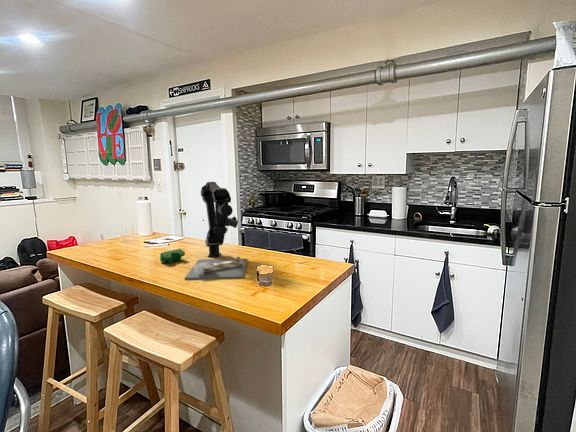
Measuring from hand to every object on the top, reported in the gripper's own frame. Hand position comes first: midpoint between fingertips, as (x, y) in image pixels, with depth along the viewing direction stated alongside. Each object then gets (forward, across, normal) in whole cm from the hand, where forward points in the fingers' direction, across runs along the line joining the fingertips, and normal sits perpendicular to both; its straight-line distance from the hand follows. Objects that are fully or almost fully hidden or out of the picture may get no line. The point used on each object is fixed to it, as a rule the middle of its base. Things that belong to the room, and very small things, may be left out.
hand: (222, 243), depth 162 cm
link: (+10, -11, -1) cm, 15 cm away
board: (+11, -9, +1) cm, 14 cm away
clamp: (+12, +7, +27) cm, 30 cm away
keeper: (+11, -17, +7) cm, 22 cm away
